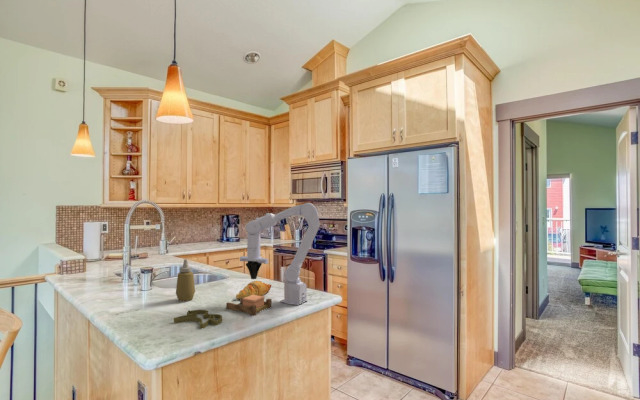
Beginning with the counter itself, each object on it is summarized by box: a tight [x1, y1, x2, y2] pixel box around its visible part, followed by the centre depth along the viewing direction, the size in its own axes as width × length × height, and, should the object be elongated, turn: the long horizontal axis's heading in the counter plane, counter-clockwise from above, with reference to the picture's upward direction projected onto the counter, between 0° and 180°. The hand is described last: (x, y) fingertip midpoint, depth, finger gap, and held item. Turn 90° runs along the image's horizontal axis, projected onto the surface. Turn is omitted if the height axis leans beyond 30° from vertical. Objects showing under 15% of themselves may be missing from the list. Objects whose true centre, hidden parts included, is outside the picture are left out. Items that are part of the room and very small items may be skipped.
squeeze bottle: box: [175, 258, 196, 302], centre depth 150 cm, size 8×8×18 cm
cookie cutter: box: [173, 309, 223, 329], centre depth 124 cm, size 18×12×2 cm, turn 65°
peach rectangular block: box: [243, 295, 265, 308], centre depth 136 cm, size 6×6×4 cm
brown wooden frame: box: [225, 298, 272, 316], centre depth 138 cm, size 15×11×4 cm
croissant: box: [235, 280, 272, 300], centre depth 157 cm, size 21×10×8 cm, turn 145°
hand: (253, 278), depth 148 cm, fingers closed
